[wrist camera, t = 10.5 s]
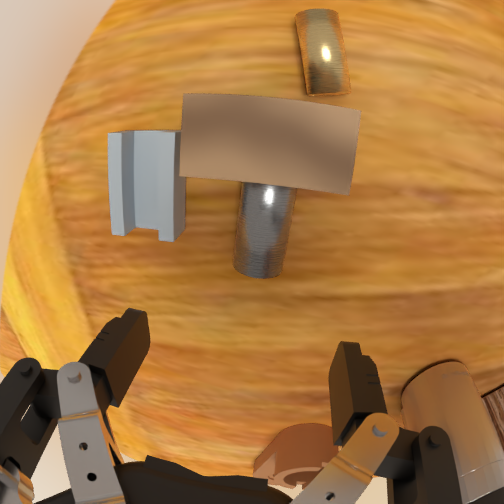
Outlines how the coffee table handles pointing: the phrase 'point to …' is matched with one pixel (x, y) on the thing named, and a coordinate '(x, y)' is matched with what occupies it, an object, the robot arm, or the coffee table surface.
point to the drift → (323, 52)
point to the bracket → (296, 455)
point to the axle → (263, 229)
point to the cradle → (146, 182)
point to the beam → (269, 141)
